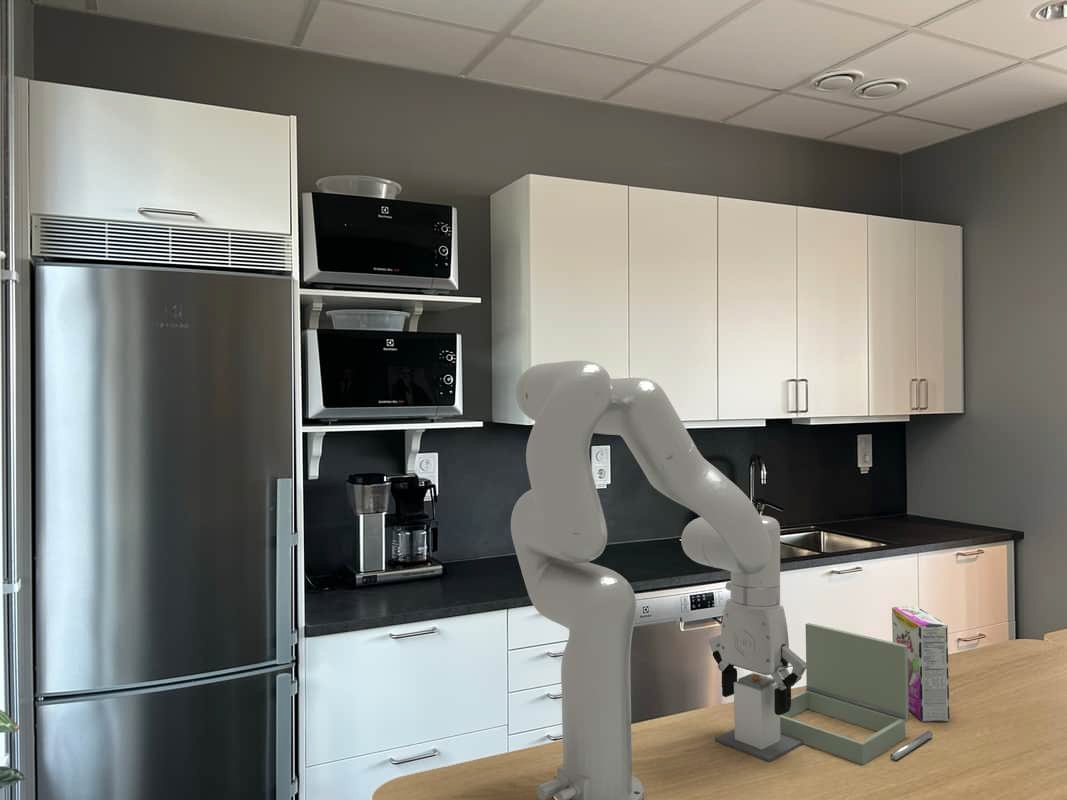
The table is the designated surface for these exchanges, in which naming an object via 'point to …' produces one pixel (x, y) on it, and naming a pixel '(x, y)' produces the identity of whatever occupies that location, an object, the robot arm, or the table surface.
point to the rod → (911, 745)
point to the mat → (765, 754)
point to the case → (851, 692)
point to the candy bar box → (924, 662)
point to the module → (756, 711)
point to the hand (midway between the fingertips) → (755, 703)
